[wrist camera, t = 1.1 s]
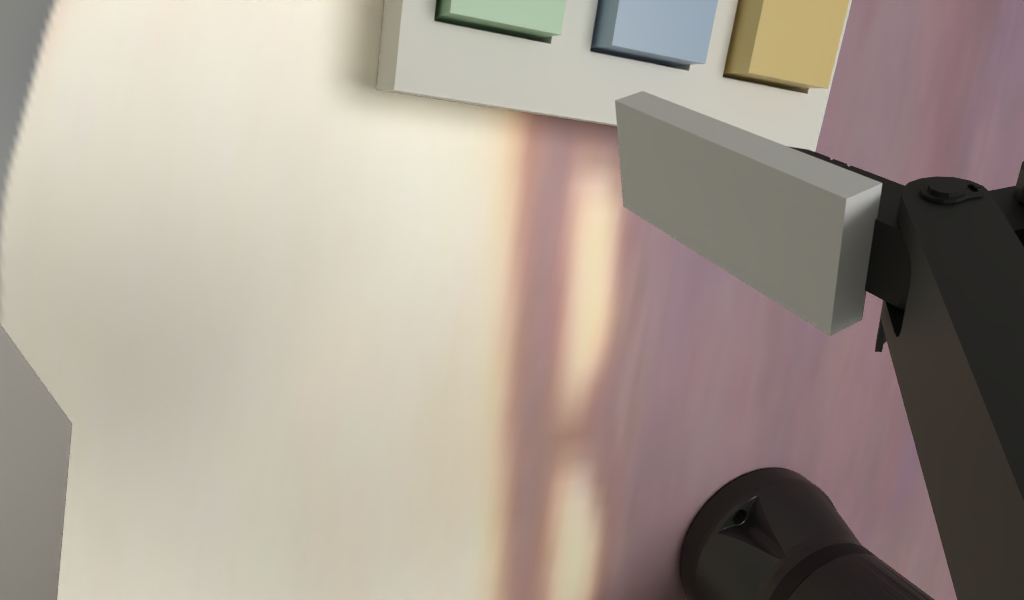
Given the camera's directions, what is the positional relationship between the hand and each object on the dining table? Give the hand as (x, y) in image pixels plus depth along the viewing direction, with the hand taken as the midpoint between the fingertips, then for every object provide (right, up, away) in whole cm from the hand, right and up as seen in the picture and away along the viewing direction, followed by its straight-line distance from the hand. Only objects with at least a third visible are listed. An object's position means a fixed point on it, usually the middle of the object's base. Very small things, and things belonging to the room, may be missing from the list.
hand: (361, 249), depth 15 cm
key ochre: (+19, +16, +30) cm, 39 cm away
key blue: (+10, +16, +27) cm, 33 cm away
